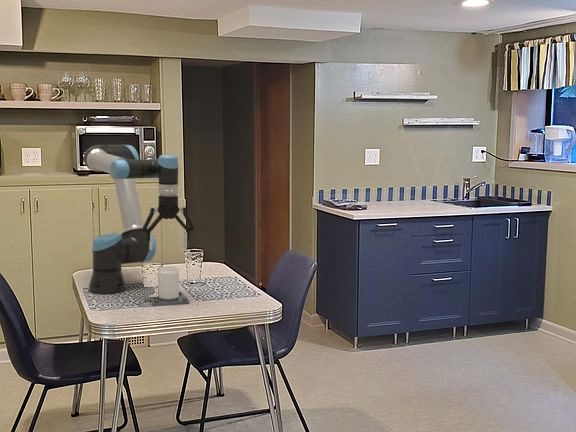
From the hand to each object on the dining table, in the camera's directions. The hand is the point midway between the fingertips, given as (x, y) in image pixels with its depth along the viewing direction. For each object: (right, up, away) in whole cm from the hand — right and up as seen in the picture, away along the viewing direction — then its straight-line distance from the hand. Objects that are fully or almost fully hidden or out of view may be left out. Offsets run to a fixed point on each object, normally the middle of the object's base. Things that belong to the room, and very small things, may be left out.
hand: (168, 248), depth 276 cm
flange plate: (0, -21, +3) cm, 21 cm away
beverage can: (0, -20, +2) cm, 20 cm away
